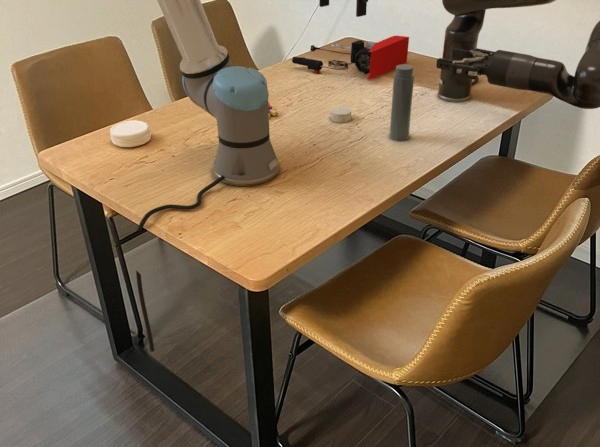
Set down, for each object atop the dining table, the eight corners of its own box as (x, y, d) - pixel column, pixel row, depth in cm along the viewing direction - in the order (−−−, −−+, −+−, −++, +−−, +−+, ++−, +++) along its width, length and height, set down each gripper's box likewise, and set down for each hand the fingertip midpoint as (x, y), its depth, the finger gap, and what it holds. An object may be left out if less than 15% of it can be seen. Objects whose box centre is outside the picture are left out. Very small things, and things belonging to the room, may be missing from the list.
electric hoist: (290, 37, 203) (370, 51, 188) (334, 23, 222) (410, 35, 207) (290, 67, 208) (368, 84, 193) (333, 51, 227) (407, 65, 212)
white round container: (123, 151, 155) (121, 138, 153) (105, 139, 162) (102, 126, 160) (158, 140, 161) (156, 127, 159) (139, 128, 167) (137, 116, 165)
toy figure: (281, 107, 173) (253, 94, 180) (262, 114, 169) (235, 100, 176) (281, 115, 175) (253, 102, 182) (262, 122, 171) (235, 108, 178)
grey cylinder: (396, 142, 158) (401, 71, 148) (385, 134, 162) (390, 65, 152) (412, 138, 160) (418, 68, 150) (402, 131, 164) (407, 62, 154)
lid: (335, 113, 175) (335, 105, 174) (354, 116, 173) (354, 108, 171) (327, 120, 171) (327, 112, 169) (346, 124, 168) (346, 115, 167)
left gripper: (297, -86, 151) (299, 4, 162) (370, -77, 134) (366, 22, 146) (321, -89, 155) (320, -1, 166) (394, -80, 138) (388, 17, 150)
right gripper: (499, 96, 133) (430, 82, 141) (521, 78, 143) (455, 65, 151) (504, 62, 129) (433, 49, 137) (527, 45, 139) (459, 34, 147)
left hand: (342, 10), depth 156 cm, fingers open, 13 cm apart
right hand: (445, 57), depth 144 cm, fingers open, 8 cm apart
